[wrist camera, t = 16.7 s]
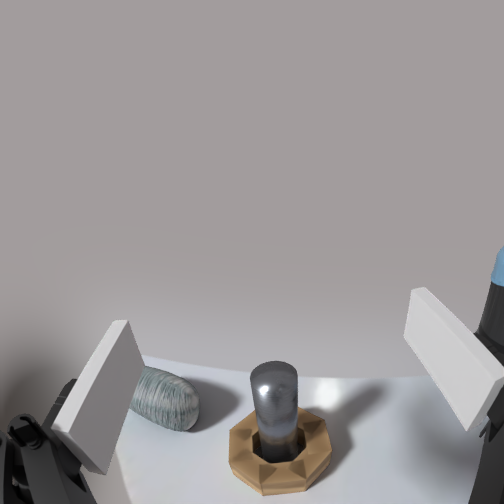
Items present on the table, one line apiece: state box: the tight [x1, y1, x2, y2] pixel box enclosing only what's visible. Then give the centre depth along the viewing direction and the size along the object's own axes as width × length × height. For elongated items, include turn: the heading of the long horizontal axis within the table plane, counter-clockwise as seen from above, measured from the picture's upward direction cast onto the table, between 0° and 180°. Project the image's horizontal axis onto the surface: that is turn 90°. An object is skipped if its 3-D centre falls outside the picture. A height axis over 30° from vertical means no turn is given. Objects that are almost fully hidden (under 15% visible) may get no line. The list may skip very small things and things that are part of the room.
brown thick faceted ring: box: [229, 407, 332, 496], centre depth 31 cm, size 12×12×4 cm
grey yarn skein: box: [129, 366, 199, 431], centre depth 39 cm, size 14×10×10 cm
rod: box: [250, 361, 298, 464], centre depth 29 cm, size 4×4×16 cm
